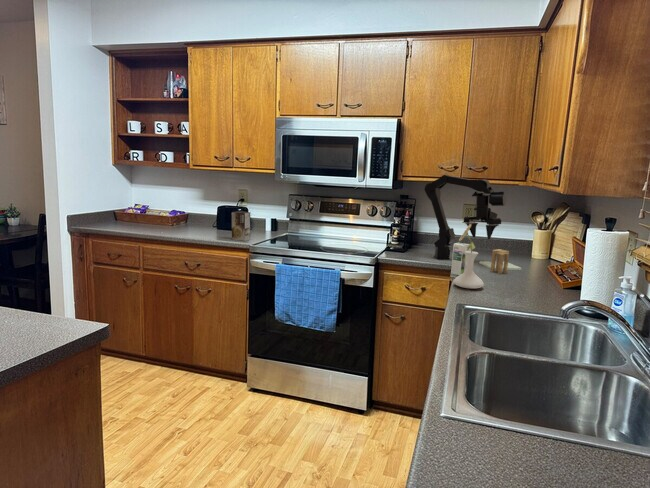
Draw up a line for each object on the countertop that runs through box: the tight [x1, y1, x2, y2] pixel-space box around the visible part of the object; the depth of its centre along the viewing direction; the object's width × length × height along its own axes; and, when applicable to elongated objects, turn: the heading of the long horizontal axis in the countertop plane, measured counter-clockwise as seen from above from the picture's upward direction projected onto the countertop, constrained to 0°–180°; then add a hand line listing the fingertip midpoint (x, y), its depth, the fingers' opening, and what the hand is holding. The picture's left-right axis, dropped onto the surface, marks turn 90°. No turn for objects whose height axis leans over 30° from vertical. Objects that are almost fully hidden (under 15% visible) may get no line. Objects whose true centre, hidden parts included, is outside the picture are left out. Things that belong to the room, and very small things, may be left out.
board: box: [478, 260, 523, 271], centre depth 220 cm, size 14×14×1 cm
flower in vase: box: [453, 224, 485, 290], centre depth 176 cm, size 13×11×25 cm
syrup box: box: [450, 242, 471, 279], centre depth 193 cm, size 6×6×14 cm
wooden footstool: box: [490, 248, 510, 275], centre depth 207 cm, size 5×5×10 cm
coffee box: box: [231, 211, 251, 242], centre depth 265 cm, size 9×6×16 cm
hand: (481, 238), depth 222 cm, fingers open, 9 cm apart
